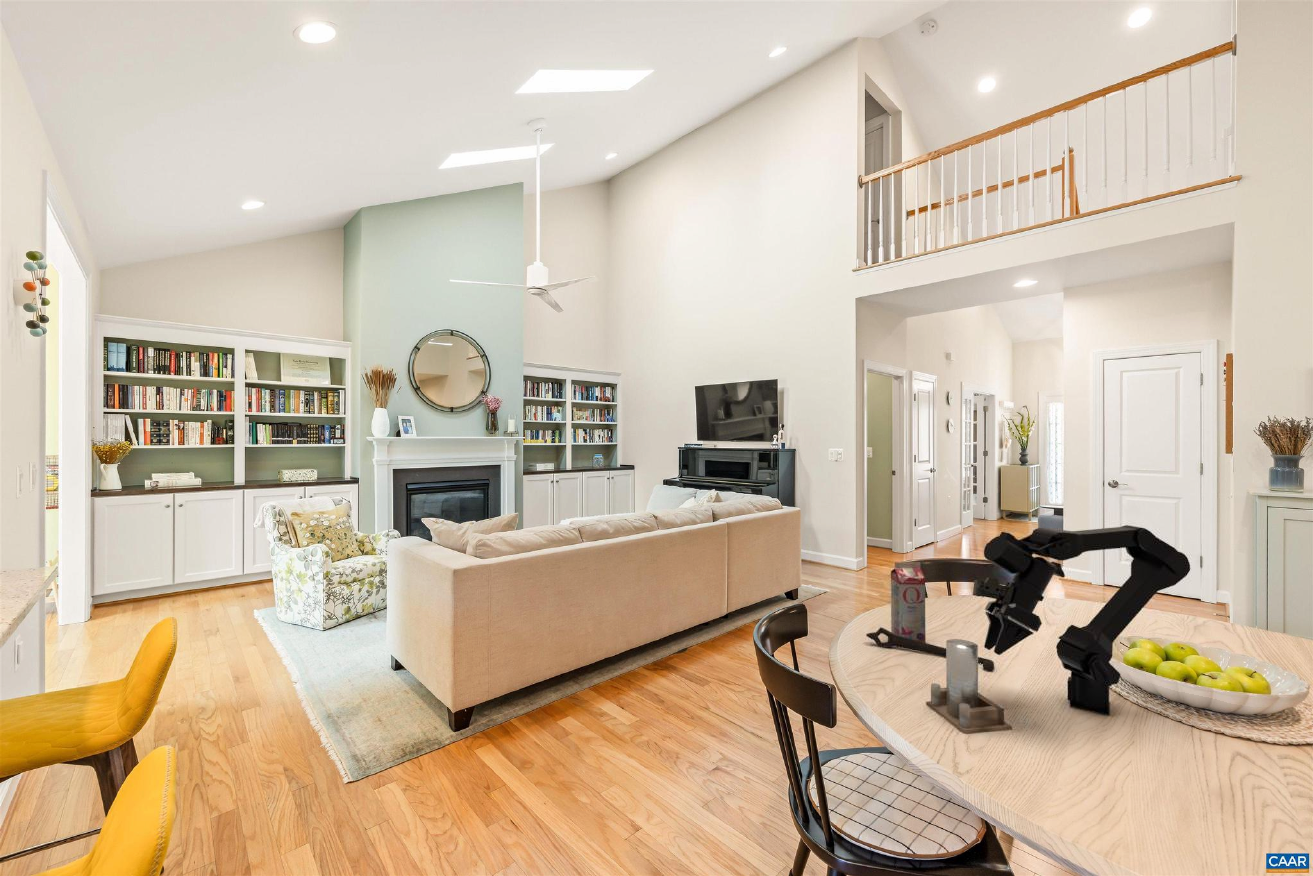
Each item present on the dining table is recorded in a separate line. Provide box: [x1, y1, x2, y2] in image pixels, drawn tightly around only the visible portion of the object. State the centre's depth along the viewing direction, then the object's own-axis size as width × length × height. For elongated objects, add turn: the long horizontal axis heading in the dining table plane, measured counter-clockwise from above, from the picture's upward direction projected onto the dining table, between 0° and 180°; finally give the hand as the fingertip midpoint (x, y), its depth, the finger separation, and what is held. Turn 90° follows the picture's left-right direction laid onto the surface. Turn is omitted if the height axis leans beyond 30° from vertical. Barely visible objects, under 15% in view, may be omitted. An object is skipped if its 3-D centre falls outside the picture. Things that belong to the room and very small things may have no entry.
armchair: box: [925, 682, 1013, 735], centre depth 116 cm, size 10×12×5 cm
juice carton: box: [890, 561, 927, 643], centre depth 156 cm, size 7×7×22 cm
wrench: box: [865, 626, 995, 672], centre depth 147 cm, size 5×5×30 cm
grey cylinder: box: [945, 638, 979, 719], centre depth 116 cm, size 6×6×14 cm
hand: (991, 651), depth 118 cm, fingers open, 9 cm apart
